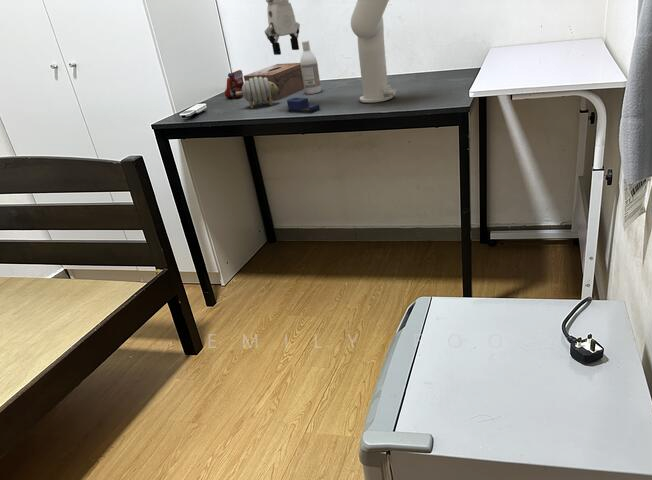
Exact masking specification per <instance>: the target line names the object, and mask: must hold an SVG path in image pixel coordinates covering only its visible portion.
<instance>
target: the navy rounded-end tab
mask: <svg viewBox="0 0 652 480" xmlns="http://www.w3.org/2000/svg"><path fill="white" fill-rule="evenodd" d="M286 104H287V110H288V112H289V113H299V114H300V113H301V114H313V113H316V112H317V111H320V110H321V107H320V104H319V103H316V104H314V105H312V106H310V102H309V98H308V97H293V98H288V99H287V100H286Z"/></svg>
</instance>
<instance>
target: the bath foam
mask: <svg viewBox="0 0 652 480" xmlns="http://www.w3.org/2000/svg"><path fill="white" fill-rule="evenodd" d="M301 46H302V53H301V56H300V61H299V63H300V64H301V71H302V77H303V83H304V89H303V90H304V93H305V94H306V95H313V94H318V93H321V92H322V86H321V85H322V84H321V78H320V72H319V65H318V60H317V57H316V56H315V54H314V53H313V52H312V50H311V46H310V40H302V41H301Z"/></svg>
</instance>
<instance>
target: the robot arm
mask: <svg viewBox="0 0 652 480" xmlns="http://www.w3.org/2000/svg"><path fill="white" fill-rule="evenodd" d="M389 1H390V0H357V1H356V4H355V6H354V9H353V11H352V14H351V16H350V17H351V18H350V28H351V31H352V33H353V34H354V35H355V36H356V37H357V49H358V50H357V51H358V59H359V69H360V77H361V86H362V94H363V95H361V96H359V101H360V102H361V103H366V104H372V103H373V104H374V103H381V102H382V103H383V102H386V101H389V100H392V99H393V97H394V96H396V94H397V89H396V88H392V87H391V84H389V82H388V72H387V61H386V48H385V47H386V46H385V33H384V32H385V29H384V27H385V26H384V17H383V16H384V13H385V11H386V8H387V6H388V3H389ZM265 2H266V3H267V6H266V7H267V9H266V11H267V12H266V13H267V23H268V26H267V28H266V29H265V30H264V34H265V37H266V38H267V40H268V41H269V43H270V44H271V46H272V53H273V55H274V56H279V55H280V56H281V55H282V52H281V45H280V44H281V43H280V42H279V39H280V37H283V36H288V35H289V37H290V38H289V39H290V46H291V50H292V51H299V50H300V45H299V39H298V38H299V34H300V26H301V24H300V22H297V21H296V16H295V12H294V9H293V6H292V3H291V2H290V0H265Z"/></svg>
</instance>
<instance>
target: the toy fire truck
mask: <svg viewBox="0 0 652 480" xmlns="http://www.w3.org/2000/svg"><path fill="white" fill-rule="evenodd" d="M227 77H228V78H226V89H225V90H224V96H225V98H226V99H232V98H233V97H235V98H237V99H242V98H243V95H239V96H236V92H239V91H242V86H243V84H245V83H244V82H245V81H244V73H243V70H242V69H238V70H236V71H233V72H228V74H227Z"/></svg>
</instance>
